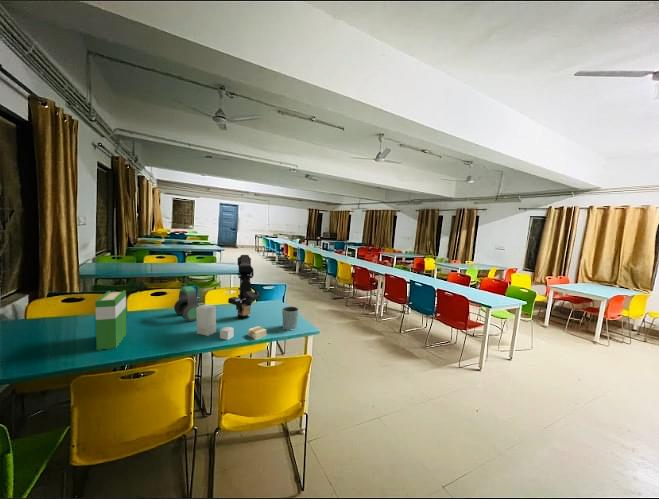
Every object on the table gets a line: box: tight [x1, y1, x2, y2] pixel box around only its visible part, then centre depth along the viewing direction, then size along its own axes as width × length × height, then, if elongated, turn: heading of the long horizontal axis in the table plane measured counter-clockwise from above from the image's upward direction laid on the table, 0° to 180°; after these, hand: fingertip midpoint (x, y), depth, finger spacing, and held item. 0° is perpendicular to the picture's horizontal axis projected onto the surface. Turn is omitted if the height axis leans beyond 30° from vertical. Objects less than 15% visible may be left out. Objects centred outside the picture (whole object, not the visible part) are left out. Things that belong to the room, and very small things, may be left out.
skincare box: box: [196, 304, 217, 337], centre depth 152 cm, size 8×7×16 cm
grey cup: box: [281, 306, 299, 331], centre depth 167 cm, size 10×10×12 cm
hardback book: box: [94, 289, 127, 351], centre depth 135 cm, size 18×7×24 cm, turn 24°
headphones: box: [173, 286, 200, 322], centre depth 172 cm, size 19×11×20 cm, turn 48°
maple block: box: [247, 325, 267, 340], centre depth 153 cm, size 7×7×4 cm
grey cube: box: [219, 326, 235, 341], centre depth 149 cm, size 5×5×5 cm
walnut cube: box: [237, 304, 252, 316], centre depth 158 cm, size 5×5×5 cm
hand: (244, 312), depth 158 cm, fingers closed on walnut cube, 5 cm apart
